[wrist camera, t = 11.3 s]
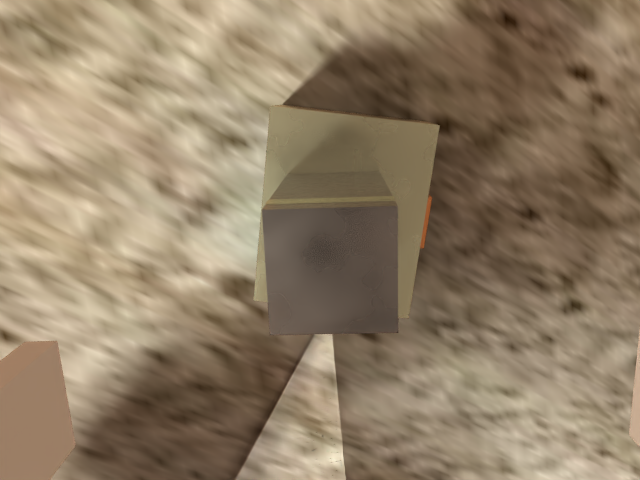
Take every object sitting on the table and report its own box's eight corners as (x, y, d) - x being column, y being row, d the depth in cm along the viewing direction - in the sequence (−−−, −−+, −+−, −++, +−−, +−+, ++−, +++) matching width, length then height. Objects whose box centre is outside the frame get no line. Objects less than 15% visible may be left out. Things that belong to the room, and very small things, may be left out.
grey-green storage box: (403, 285, 38) (415, 319, 32) (267, 269, 38) (253, 300, 32) (429, 121, 35) (447, 125, 29) (281, 104, 35) (270, 105, 29)
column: (291, 262, 31) (269, 335, 22) (286, 173, 30) (261, 209, 21) (380, 260, 31) (398, 333, 22) (379, 170, 30) (398, 205, 20)
